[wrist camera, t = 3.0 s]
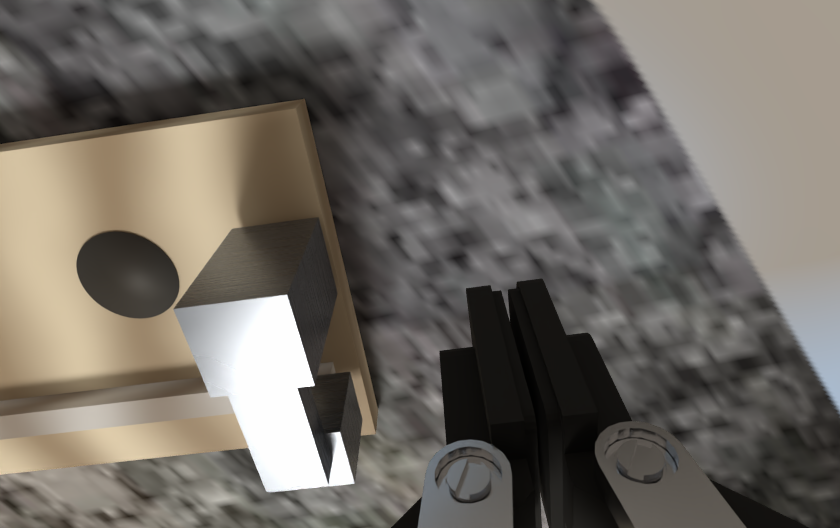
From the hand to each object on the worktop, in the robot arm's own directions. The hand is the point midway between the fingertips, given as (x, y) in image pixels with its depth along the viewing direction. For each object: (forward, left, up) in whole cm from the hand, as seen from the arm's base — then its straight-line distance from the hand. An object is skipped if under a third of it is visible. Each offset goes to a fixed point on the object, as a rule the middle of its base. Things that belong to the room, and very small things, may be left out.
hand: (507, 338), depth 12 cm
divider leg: (+7, +3, -7) cm, 10 cm away
